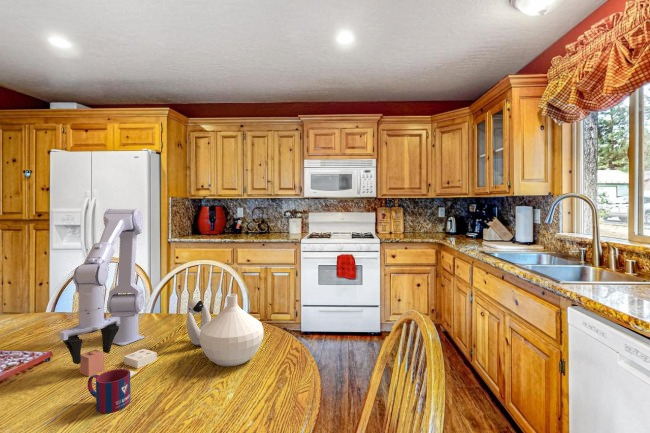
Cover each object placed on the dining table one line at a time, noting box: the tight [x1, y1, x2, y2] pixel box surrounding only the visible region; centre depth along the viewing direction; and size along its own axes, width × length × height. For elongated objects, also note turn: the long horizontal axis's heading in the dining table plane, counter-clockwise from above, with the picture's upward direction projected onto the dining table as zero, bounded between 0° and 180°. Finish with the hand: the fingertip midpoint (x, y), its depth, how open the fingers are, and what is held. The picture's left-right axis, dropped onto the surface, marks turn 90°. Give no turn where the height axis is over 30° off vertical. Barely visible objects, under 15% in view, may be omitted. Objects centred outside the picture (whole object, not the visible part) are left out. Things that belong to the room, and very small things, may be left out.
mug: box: [87, 368, 131, 414], centre depth 80 cm, size 7×10×7 cm
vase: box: [200, 293, 265, 367], centre depth 103 cm, size 18×18×19 cm
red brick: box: [79, 349, 105, 377], centre depth 94 cm, size 4×4×5 cm
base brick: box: [123, 348, 158, 369], centre depth 101 cm, size 6×6×2 cm
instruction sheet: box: [93, 370, 138, 385], centre depth 91 cm, size 6×8×1 cm
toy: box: [186, 297, 212, 347], centre depth 113 cm, size 11×7×15 cm, turn 168°
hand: (92, 357), depth 94 cm, fingers open, 7 cm apart
